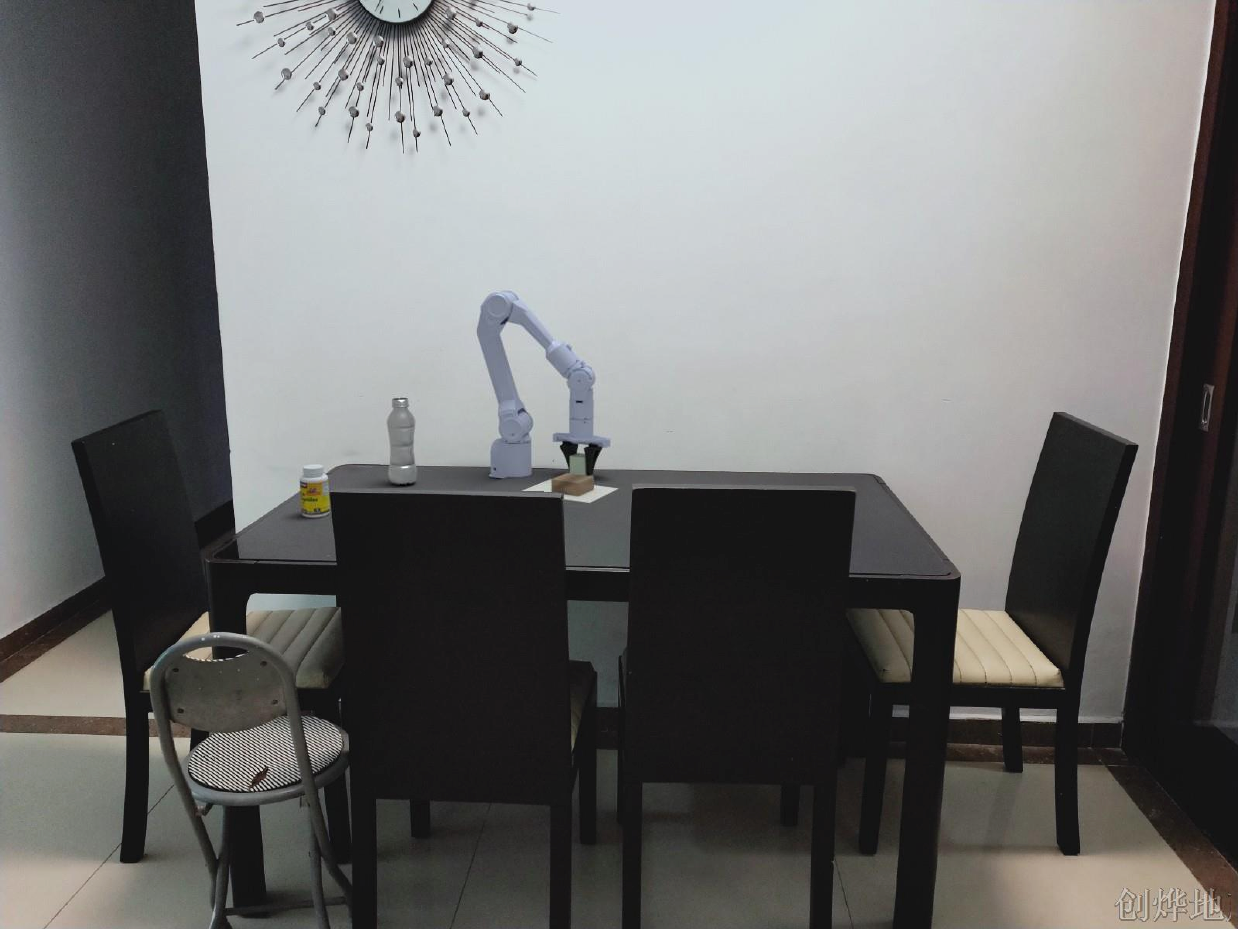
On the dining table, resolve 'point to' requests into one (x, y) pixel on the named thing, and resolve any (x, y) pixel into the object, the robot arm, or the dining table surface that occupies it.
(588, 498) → the plate
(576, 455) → the sage block
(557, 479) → the walnut base
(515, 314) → the robot arm
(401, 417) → the plastic bottle
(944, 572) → the dining table surface
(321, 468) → the supplement bottle
